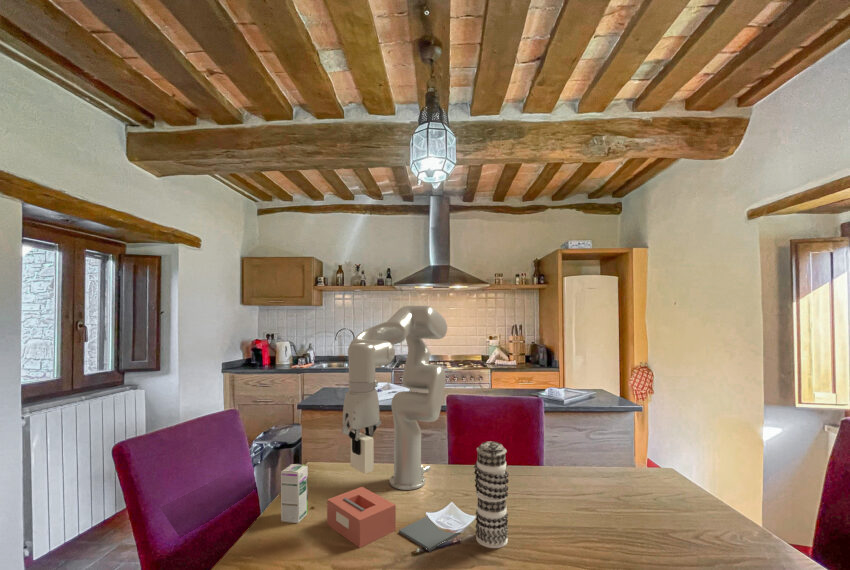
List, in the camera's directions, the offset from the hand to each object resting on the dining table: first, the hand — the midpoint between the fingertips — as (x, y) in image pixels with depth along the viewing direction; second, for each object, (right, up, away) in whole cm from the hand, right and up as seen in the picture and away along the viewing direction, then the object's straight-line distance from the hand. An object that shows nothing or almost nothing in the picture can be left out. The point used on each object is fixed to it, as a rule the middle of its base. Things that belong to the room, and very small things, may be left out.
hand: (361, 451), depth 119 cm
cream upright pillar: (0, -5, 0) cm, 5 cm away
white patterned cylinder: (+36, -21, -7) cm, 42 cm away
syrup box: (-21, -21, +4) cm, 30 cm away
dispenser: (0, -21, -1) cm, 21 cm away
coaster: (+19, -21, -4) cm, 29 cm away
